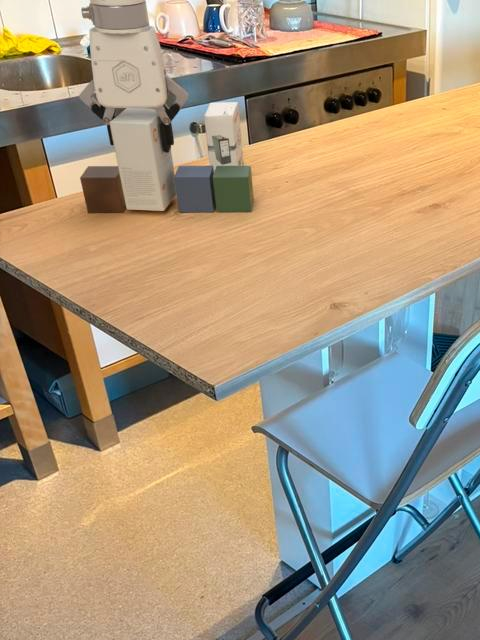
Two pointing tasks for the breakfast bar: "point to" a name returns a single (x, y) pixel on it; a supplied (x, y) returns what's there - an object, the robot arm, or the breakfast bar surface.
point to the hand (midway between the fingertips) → (143, 149)
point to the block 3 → (233, 188)
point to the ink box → (223, 134)
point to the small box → (143, 160)
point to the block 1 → (103, 189)
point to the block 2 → (195, 188)
